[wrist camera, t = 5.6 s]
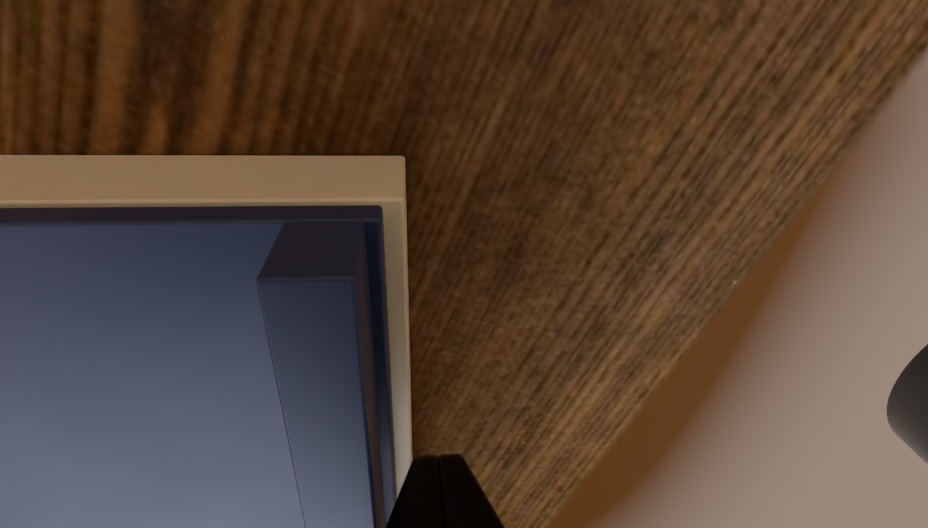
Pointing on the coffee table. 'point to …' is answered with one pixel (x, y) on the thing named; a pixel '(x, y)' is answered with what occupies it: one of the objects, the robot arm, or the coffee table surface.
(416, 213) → the coffee table surface
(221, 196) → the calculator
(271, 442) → the cover
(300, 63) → the coffee table surface
